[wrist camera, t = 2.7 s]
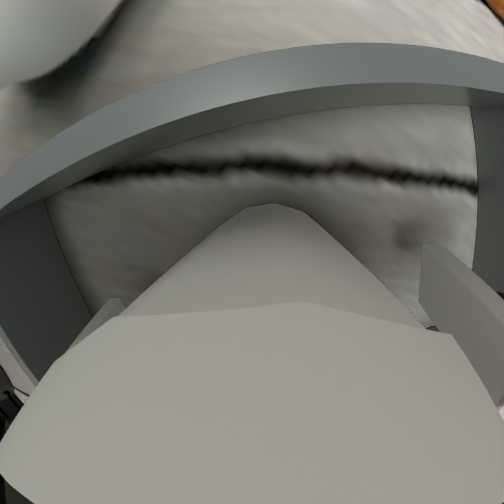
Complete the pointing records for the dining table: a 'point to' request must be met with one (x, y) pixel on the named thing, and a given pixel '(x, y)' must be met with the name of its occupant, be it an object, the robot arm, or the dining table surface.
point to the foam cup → (260, 389)
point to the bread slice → (497, 7)
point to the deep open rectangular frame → (212, 120)
